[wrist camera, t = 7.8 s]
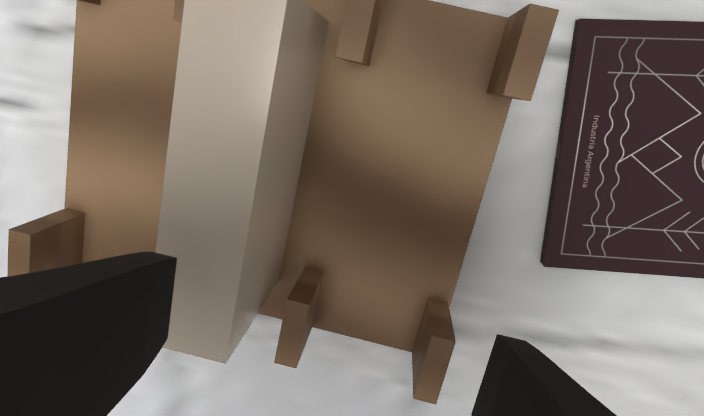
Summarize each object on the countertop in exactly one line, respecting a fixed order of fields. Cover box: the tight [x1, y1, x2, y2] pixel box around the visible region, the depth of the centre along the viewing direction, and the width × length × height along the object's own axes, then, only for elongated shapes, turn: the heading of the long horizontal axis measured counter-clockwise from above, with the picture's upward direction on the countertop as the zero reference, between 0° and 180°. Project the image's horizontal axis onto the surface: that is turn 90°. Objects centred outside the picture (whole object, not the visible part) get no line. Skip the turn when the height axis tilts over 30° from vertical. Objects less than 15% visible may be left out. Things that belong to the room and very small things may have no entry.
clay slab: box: [155, 0, 329, 364], centre depth 15 cm, size 10×2×6 cm, turn 168°
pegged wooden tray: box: [8, 0, 559, 404], centre depth 17 cm, size 13×16×4 cm
